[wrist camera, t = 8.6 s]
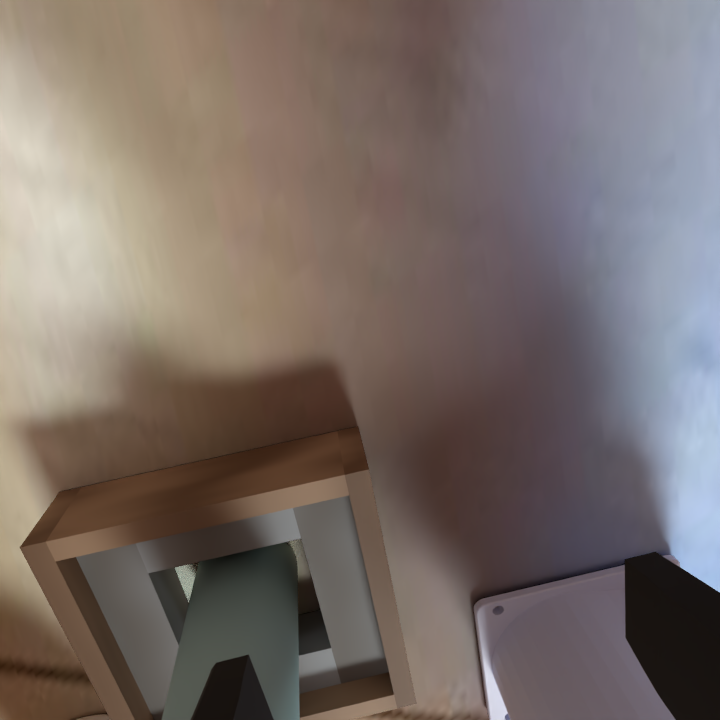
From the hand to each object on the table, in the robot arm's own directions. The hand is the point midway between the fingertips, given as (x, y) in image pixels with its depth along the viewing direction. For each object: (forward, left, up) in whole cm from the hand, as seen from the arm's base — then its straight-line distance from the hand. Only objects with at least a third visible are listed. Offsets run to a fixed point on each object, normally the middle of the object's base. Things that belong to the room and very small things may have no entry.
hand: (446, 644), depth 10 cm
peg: (+6, +6, -10) cm, 14 cm away
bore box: (+6, +6, -10) cm, 14 cm away
